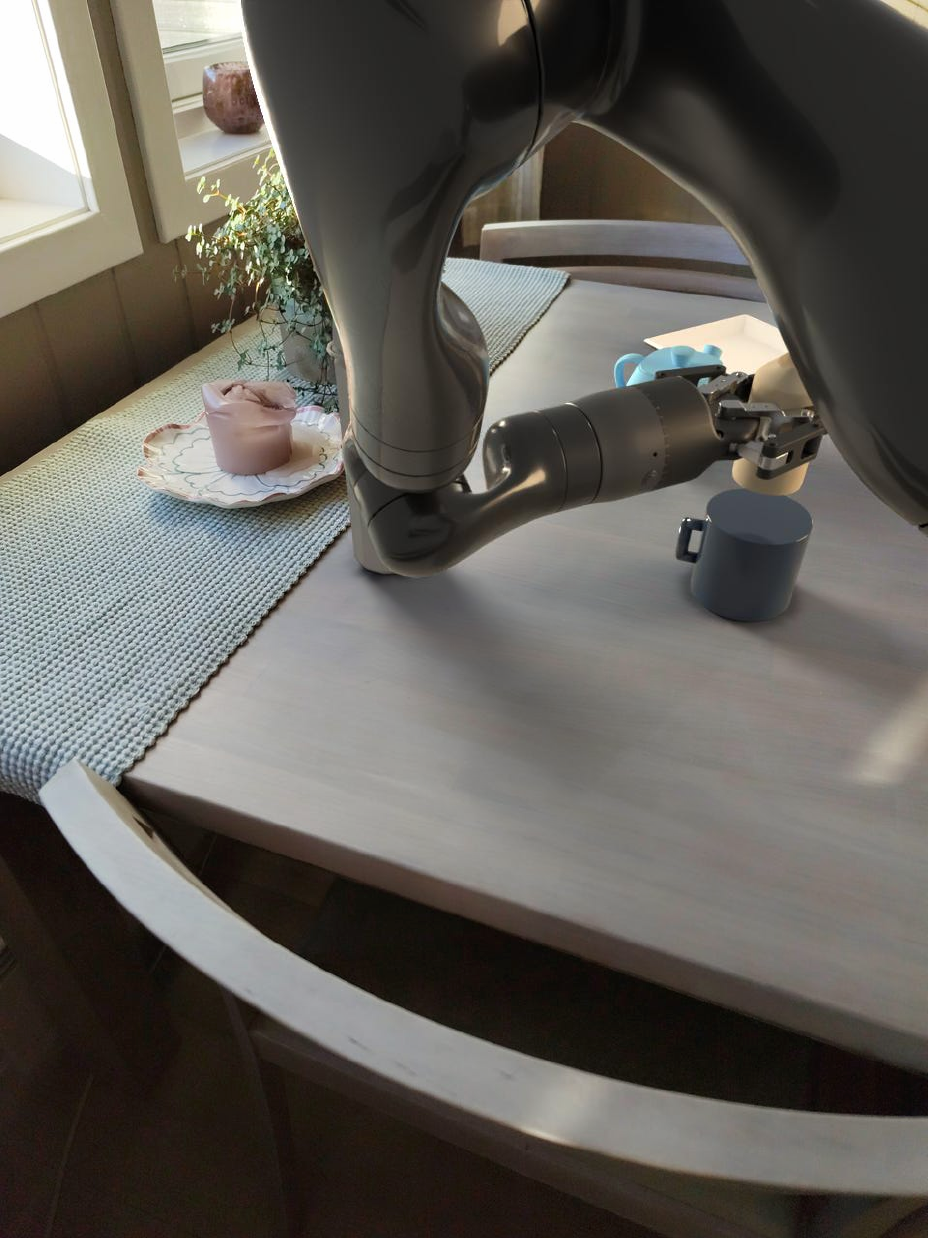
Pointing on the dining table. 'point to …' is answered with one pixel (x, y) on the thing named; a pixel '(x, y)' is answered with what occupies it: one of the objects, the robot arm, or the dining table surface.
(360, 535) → the water bottle
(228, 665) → the dining table surface
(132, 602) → the dining table surface
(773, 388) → the candle
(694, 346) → the plate
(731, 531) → the mug
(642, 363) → the teapot
